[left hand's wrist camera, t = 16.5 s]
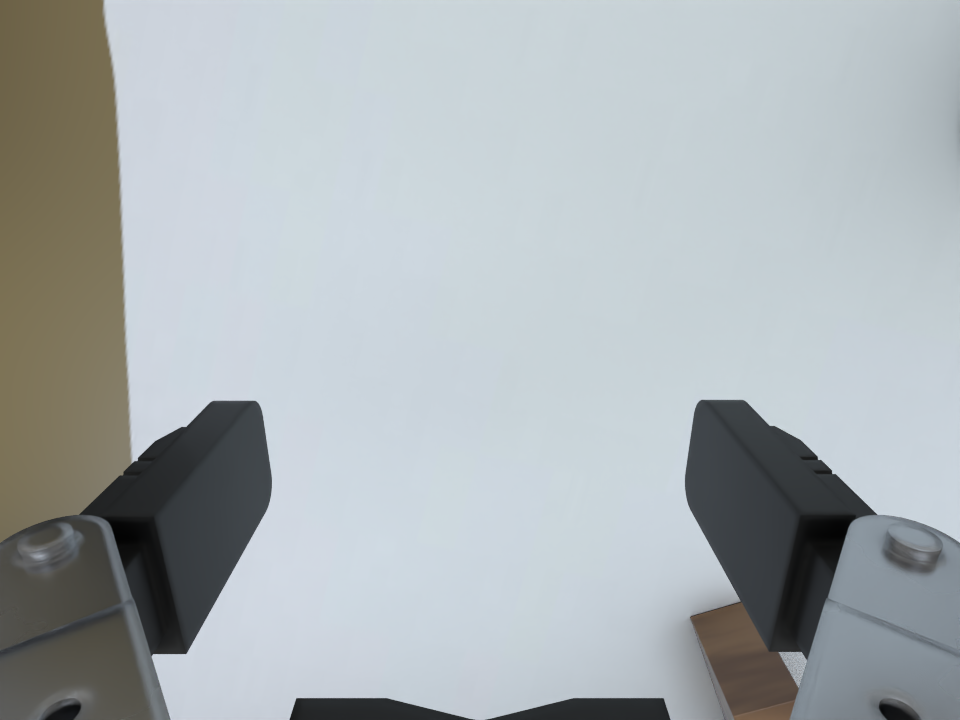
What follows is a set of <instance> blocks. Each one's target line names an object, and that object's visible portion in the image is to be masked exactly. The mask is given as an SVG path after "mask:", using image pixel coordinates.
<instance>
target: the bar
mask: <svg viewBox="0 0 960 720" xmlns="http://www.w3.org/2000/svg"><path fill="white" fill-rule="evenodd" d="M691 621H692V624H693V627H694V630H695V633H696V636H697V639H698V642H699V644H700V647H701V650H702V653H703V656H704V659H705V662H706V665H707V668H708V671H709V674H710V677H711V680H712V683H713V685H714V688H715V691H716V694H717V697H718V700H719V703H720V706H721V709H722V712H723V715H724V718H725V720H790V717H791V713H792V710H793V707H794V703H795V700H796V697H797V693H798V690H799V688H798V686H797V684H796V683H795V681H794V679H793V677H792V676H791V674H790V672H789V670H788V669H787V667H786V665H785V663H784V662H783V660H782V658H781V656H780V655H779V653H778V652H769V651H768V649H767V647H766V646H765V644H764V642H763V640H762V638H761V636H760V635H759V633H758V631H757V629H756V627H755V626H754V624H753V622H752V620H751V618H750V617H749V615H748V613H747V611H746V609H745V607H744V606H743V604H742V602H740V603H737V604H733V605H730V606H726V607H723V608H719V609H716V610H713V611H709V612H706V613H702V614H699V615H695V616H692V617H691Z"/></svg>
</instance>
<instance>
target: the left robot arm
mask: <svg viewBox="0 0 960 720" xmlns="http://www.w3.org/2000/svg"><path fill="white" fill-rule="evenodd" d="M271 489H272V477H271V469H270V462H269V455H268V448H267V442H266V435H265V428H264V421H263V415H262V410H261V408H260V405H259V404H258V403H257V402H256V401H212V402H211V403H209V404H208V405H207V406H206V407H205V408H204V409H203V411H202V412H201V413H200V414H199V415H198V416H197V417H196V418H195V419H194V420H193V421H192V422H191V423H190V424H189V425H188V426H187V427H181V428H179V429H177V430H175V431H173V432H172V433H170V434H168V435H166V436H164V437H162V438H160V439H159V440H157V441H155V442H154V443H153V444H152V445H151V446H150V447H149V448H148V449H147V450H146V451H145V452H144V453H143V454H142V455H141V456H140V457H138V461H134V462H133V463H132V464H131V465H130V466H129V467H128V468H127V469H126V470H125V471H124V474H123V476H119V477H118V478H117V479H116V480H115V481H114V482H113V483H112V484H111V485H109V486H108V487H107V488H106V489H105V490H104V491H103V492H102V493H101V494H100V495H99V496H98V497H97V498H96V499H95V500H94V501H93V502H92V503H91V504H90V505H89V506H88V507H87V508H86V509H85V510H84V511H83V512H81V513H80V514H79V515H73V516H65V517H60V518H55V519H51V520H48V521H44V522H41V523H38V524H36V525H33V526H31V527H28V528H26V529H24V530H22V531H20V532H18V533H16V534H14V535H12V536H10V537H9V538H7V539H5V540H4V541H2V542H1V543H0V720H170V717H169V713H168V710H167V707H166V703H165V700H164V697H163V693H162V690H161V687H160V683H159V680H158V677H157V673H156V670H155V667H154V663H153V660H152V657H151V656H152V655H153V654H187V652H188V650H189V648H190V646H191V645H192V643H193V641H194V639H195V637H196V636H197V634H198V632H199V630H200V629H201V627H202V625H203V623H204V621H205V620H206V618H207V616H208V614H209V612H210V611H211V609H212V607H213V605H214V603H215V602H216V600H217V598H218V596H219V595H220V593H221V591H222V589H223V587H224V586H225V584H226V582H227V580H228V578H229V577H230V575H231V573H232V571H233V569H234V568H235V566H236V564H237V562H238V561H239V559H240V557H241V555H242V553H243V552H244V550H245V548H246V546H247V544H248V543H249V541H250V539H251V537H252V535H253V534H254V532H255V530H256V528H257V527H258V525H259V523H260V521H261V519H262V518H263V516H264V514H265V512H266V510H267V508H268V505H269V502H270V497H271ZM685 490H686V497H687V501H688V505H689V507H690V510H691V511H692V513H693V515H694V517H695V519H696V521H697V522H698V524H699V526H700V528H701V530H702V531H703V533H704V535H705V537H706V539H707V540H708V542H709V544H710V546H711V548H712V550H713V551H714V553H715V555H716V557H717V559H718V560H719V562H720V564H721V566H722V568H723V569H724V571H725V573H726V575H727V577H728V579H729V580H730V582H731V584H732V586H733V588H734V589H735V591H736V593H737V595H738V597H739V598H740V600H741V602H742V604H743V606H744V607H745V609H746V611H747V613H748V615H749V617H750V618H751V620H752V622H753V624H754V626H755V627H756V629H757V631H758V633H759V635H760V636H761V638H762V640H763V642H764V644H765V646H766V647H767V649H768V651H769V652H802V653H803V655H804V656H805V658H806V659H807V663H806V667H805V670H804V673H803V677H802V680H801V683H800V687H799V690H798V693H797V697H796V700H795V703H794V707H793V710H792V713H791V717H790V720H960V543H959V542H958V541H956V540H955V539H953V538H951V537H950V536H948V535H946V534H944V533H942V532H940V531H938V530H936V529H934V528H932V527H929V526H927V525H924V524H922V523H919V522H916V521H912V520H909V519H905V518H900V517H895V516H887V515H877V514H876V513H875V512H874V511H873V510H872V509H871V508H870V507H869V506H868V505H867V504H866V503H865V502H864V501H863V500H862V499H861V498H860V497H859V496H858V495H856V494H855V493H854V492H853V491H852V490H851V489H850V488H849V487H848V486H847V485H846V484H845V483H844V482H843V481H842V480H841V479H840V478H839V477H838V476H837V475H836V474H832V470H831V469H830V468H829V467H828V466H827V465H826V464H825V463H824V462H823V461H822V460H818V457H817V456H816V455H815V454H814V453H813V452H812V451H811V450H810V449H809V448H808V447H807V446H806V445H805V444H804V443H803V442H802V441H801V440H799V439H797V438H796V437H794V436H792V435H790V434H788V433H786V432H785V431H783V430H781V429H779V428H777V427H775V426H769V425H768V424H767V423H766V422H765V421H764V420H763V419H762V418H761V417H760V416H759V414H758V413H757V412H756V411H755V410H754V409H753V408H752V407H751V406H750V405H749V404H748V403H747V402H746V401H744V400H701V401H699V402H698V404H697V406H696V408H695V412H694V418H693V425H692V432H691V439H690V446H689V453H688V460H687V467H686V474H685ZM290 720H473V719H468V718H464V717H460V716H456V715H452V714H448V713H444V712H440V711H436V710H432V709H428V708H424V707H420V706H416V705H412V704H407V703H403V702H399V701H395V700H391V699H387V698H296V701H295V705H294V708H293V711H292V714H291V717H290ZM487 720H670V717H669V714H668V711H667V708H666V705H665V701H664V698H573V699H569V700H565V701H561V702H557V703H553V704H548V705H544V706H540V707H536V708H532V709H528V710H524V711H520V712H516V713H512V714H508V715H504V716H500V717H496V718H492V719H487Z"/></svg>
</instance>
